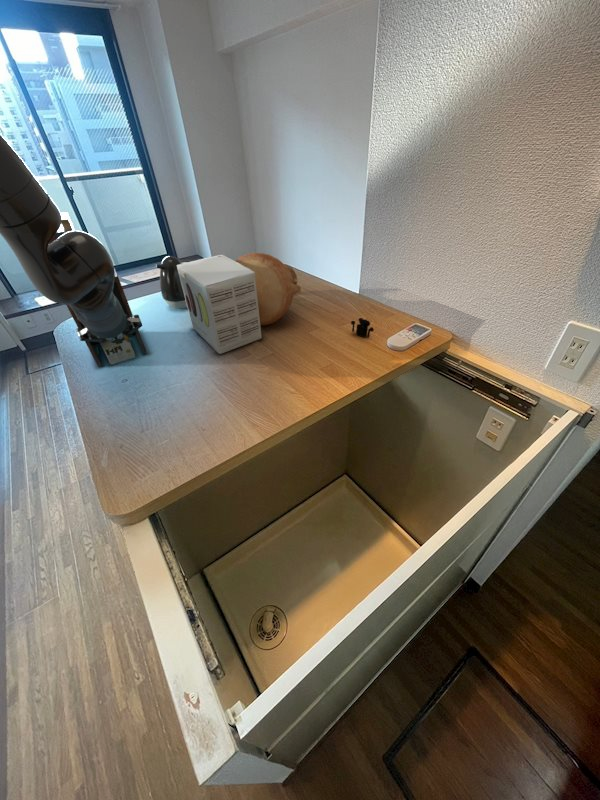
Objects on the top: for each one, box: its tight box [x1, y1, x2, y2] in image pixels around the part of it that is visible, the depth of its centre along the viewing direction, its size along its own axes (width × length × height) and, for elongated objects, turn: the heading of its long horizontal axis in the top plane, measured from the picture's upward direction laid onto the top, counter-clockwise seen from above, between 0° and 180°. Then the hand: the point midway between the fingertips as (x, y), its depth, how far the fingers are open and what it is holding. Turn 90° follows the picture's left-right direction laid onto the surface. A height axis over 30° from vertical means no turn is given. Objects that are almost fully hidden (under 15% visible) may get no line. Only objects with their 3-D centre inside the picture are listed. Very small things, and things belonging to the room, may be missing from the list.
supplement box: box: [177, 254, 262, 355], centre depth 85 cm, size 17×13×18 cm
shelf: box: [49, 211, 148, 368], centre depth 76 cm, size 12×13×31 cm
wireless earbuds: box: [350, 317, 375, 339], centre depth 88 cm, size 7×2×5 cm, turn 50°
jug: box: [234, 252, 302, 326], centre depth 96 cm, size 20×19×30 cm
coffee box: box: [97, 335, 137, 365], centre depth 79 cm, size 9×6×16 cm
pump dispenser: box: [155, 255, 188, 310], centre depth 100 cm, size 10×10×15 cm
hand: (118, 339), depth 77 cm, fingers closed
